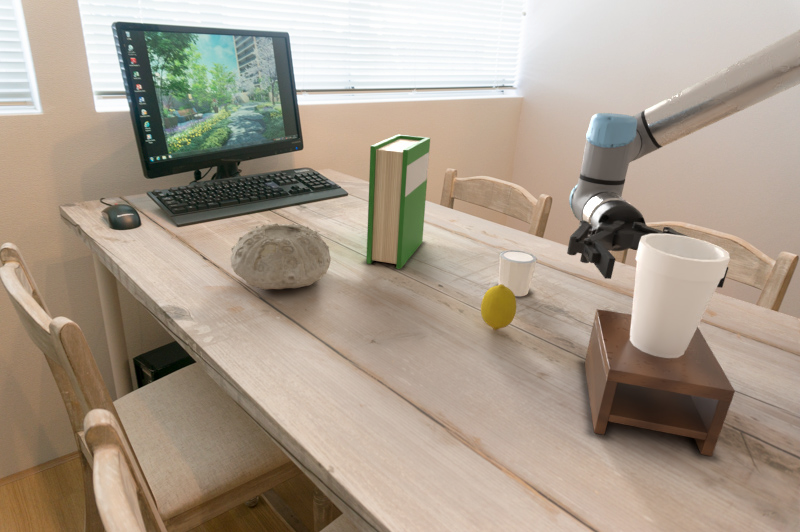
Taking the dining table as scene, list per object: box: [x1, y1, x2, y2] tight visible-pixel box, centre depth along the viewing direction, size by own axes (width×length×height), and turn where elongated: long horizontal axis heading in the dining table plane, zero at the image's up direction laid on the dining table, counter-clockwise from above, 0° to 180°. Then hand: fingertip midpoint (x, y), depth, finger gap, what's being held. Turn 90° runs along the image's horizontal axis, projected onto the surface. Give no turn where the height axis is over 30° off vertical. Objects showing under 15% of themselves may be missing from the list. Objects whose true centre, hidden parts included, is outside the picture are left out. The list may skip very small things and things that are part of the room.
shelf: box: [584, 308, 736, 457], centre depth 68 cm, size 13×16×9 cm
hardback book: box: [365, 134, 431, 270], centre depth 112 cm, size 18×7×24 cm, turn 163°
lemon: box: [480, 284, 517, 331], centre depth 84 cm, size 6×6×8 cm
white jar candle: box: [497, 249, 538, 297], centre depth 100 cm, size 7×7×7 cm
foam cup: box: [630, 234, 731, 358], centre depth 63 cm, size 10×9×13 cm
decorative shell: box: [229, 223, 332, 291], centre depth 97 cm, size 18×18×10 cm
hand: (666, 273), depth 65 cm, fingers open, 13 cm apart
